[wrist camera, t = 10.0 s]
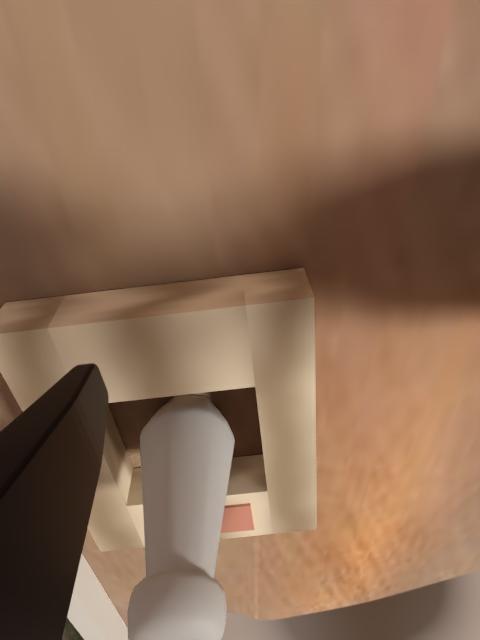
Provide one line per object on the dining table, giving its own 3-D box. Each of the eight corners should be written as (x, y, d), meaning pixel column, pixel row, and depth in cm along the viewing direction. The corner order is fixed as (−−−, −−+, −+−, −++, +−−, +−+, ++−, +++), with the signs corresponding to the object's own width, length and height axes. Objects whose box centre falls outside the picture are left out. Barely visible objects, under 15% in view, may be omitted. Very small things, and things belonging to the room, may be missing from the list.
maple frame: (303, 267, 23) (315, 300, 20) (309, 492, 34) (317, 531, 32) (5, 302, 23) (-22, 338, 21) (108, 513, 34) (100, 554, 32)
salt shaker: (153, 447, 30) (120, 680, 20) (136, 387, 27) (84, 626, 16) (236, 440, 30) (248, 668, 20) (229, 379, 27) (238, 613, 16)
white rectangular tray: (58, 514, 34) (45, 552, 32) (130, 633, 47) (126, 667, 45) (-93, 530, 34) (-117, 569, 32) (21, 644, 48) (10, 678, 45)
